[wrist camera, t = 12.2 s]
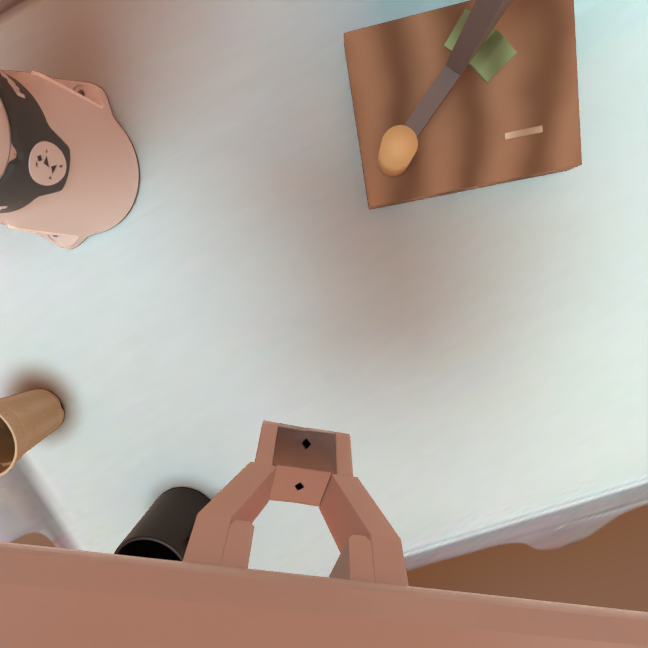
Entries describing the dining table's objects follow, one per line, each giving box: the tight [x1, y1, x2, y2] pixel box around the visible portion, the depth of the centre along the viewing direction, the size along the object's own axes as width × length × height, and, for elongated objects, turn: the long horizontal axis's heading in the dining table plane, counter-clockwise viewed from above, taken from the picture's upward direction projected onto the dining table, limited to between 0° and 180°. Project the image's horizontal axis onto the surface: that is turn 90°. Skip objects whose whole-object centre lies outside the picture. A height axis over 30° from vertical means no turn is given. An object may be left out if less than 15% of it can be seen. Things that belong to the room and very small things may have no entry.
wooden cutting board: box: [344, 0, 582, 209], centre depth 36 cm, size 21×16×3 cm
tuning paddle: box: [377, 0, 513, 177], centre depth 26 cm, size 21×3×16 cm, turn 145°
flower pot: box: [0, 389, 64, 476], centre depth 44 cm, size 9×9×9 cm
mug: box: [114, 488, 210, 561], centre depth 45 cm, size 9×12×9 cm
